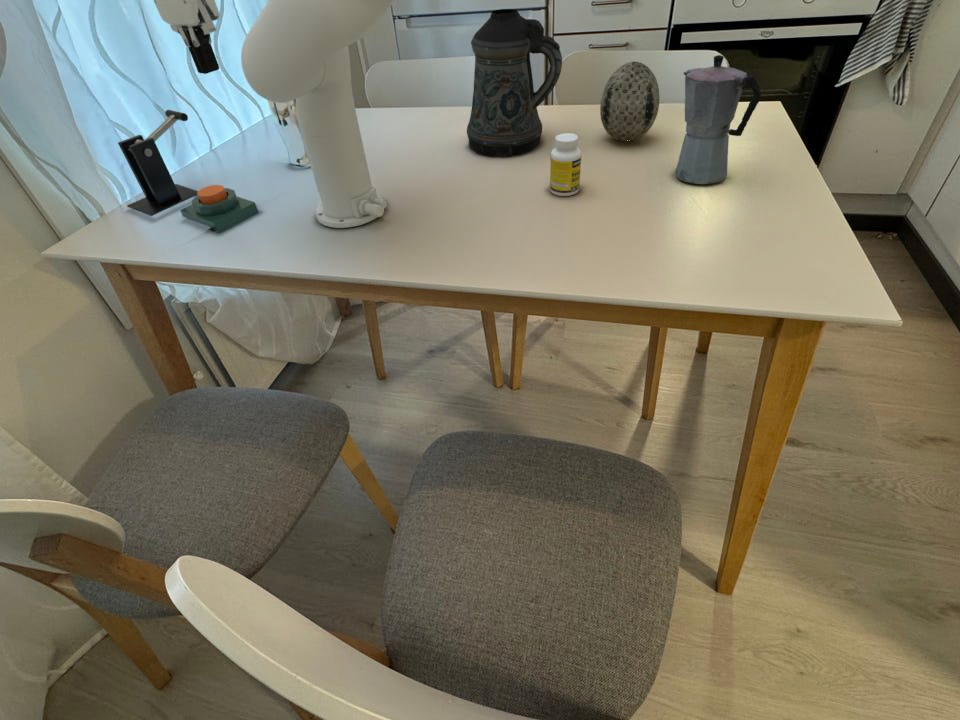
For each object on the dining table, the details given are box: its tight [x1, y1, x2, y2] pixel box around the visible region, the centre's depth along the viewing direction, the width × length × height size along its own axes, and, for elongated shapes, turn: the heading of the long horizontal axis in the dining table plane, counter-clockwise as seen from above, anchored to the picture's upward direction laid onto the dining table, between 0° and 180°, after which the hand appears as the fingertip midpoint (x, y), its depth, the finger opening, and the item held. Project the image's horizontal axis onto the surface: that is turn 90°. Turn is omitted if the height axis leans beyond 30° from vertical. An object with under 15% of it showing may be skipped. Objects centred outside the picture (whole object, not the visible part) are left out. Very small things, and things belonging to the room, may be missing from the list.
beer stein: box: [466, 8, 563, 158], centre depth 113 cm, size 16×19×25 cm
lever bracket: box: [117, 134, 199, 217], centre depth 107 cm, size 11×9×13 cm
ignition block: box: [180, 187, 259, 235], centre depth 103 cm, size 11×9×4 cm
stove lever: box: [127, 109, 189, 155], centre depth 105 cm, size 12×6×2 cm, turn 144°
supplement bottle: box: [549, 132, 582, 197], centre depth 98 cm, size 5×5×10 cm
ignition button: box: [196, 184, 227, 204], centre depth 102 cm, size 5×5×2 cm
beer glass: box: [267, 99, 311, 169], centre depth 117 cm, size 7×7×15 cm
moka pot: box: [675, 54, 762, 185], centre depth 95 cm, size 10×15×20 cm, turn 36°
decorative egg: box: [599, 61, 661, 143], centre depth 112 cm, size 12×12×15 cm
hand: (209, 71), depth 94 cm, fingers closed
